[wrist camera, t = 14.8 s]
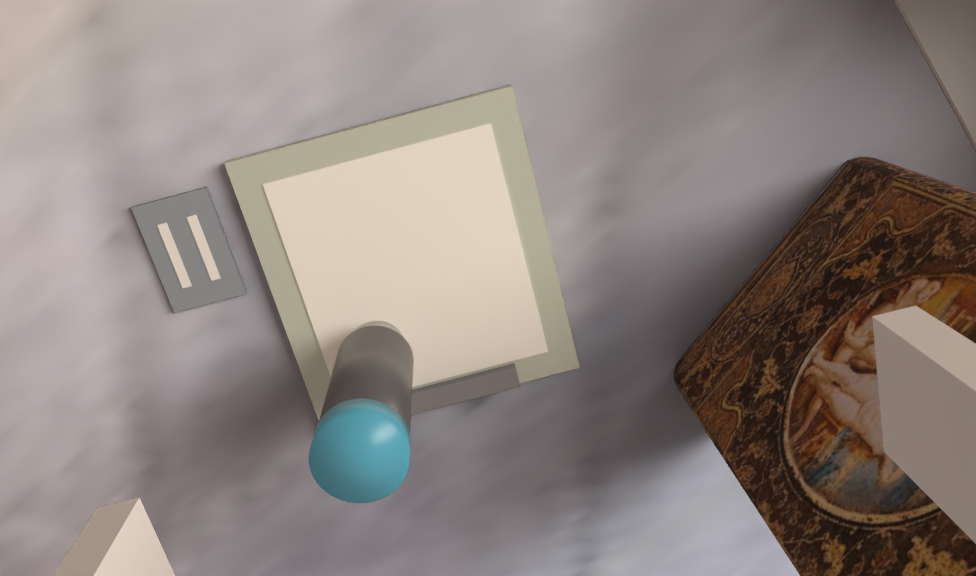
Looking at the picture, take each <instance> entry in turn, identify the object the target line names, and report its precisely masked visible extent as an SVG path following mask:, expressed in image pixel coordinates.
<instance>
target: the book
mask: <svg viewBox="0 0 976 576" xmlns="http://www.w3.org/2000/svg"><path fill="white" fill-rule="evenodd" d="M912 306H917V307H919V308H920V309H922V310H924V311H925V312H927V313H928V314H930V315H931V316H933V317H935V318H936V319H938V320H939V321H941V322H942V323H944V324H946V325H947V326H949V327H950V328H952V329H953V330H955V331H957V332H958V333H960V334H961V335H963V336H964V337H966V338H968V339H969V340H971V341H972V342H974V343H975V344H976V193H974V192H971V191H969V190H966V189H963V188H960V187H957V186H954V185H951V184H948V183H945V182H942V181H939V180H937V179H934V178H931V177H928V176H925V175H922V174H919V173H916V172H913V171H910V170H908V169H905V168H902V167H899V166H896V165H893V164H890V163H887V162H884V161H881V160H878V159H875V158H869V157H859V158H854V159H851V160H848V161H847V162H846V163H845V164H844V165H843V167H842V168H841V169H840V170H839V171H838V172H837V174H836V175H835V176H834V177H833V178H832V180H831V181H830V182H829V183H828V184H827V185H826V187H825V188H824V189H823V190H822V191H821V193H820V194H819V195H818V196H817V197H816V198H815V200H814V201H813V202H812V203H811V204H810V206H809V207H808V208H807V209H806V210H805V211H804V213H803V214H802V215H801V216H800V217H799V219H798V220H797V221H796V222H795V223H794V224H793V226H792V227H791V228H790V229H789V230H788V232H787V233H786V234H785V235H784V236H783V237H782V239H781V240H780V241H779V242H778V243H777V245H776V246H775V247H774V248H773V249H772V250H771V252H770V253H769V254H768V255H767V256H766V258H765V259H764V260H763V261H762V262H761V263H760V265H759V266H758V267H757V268H756V269H755V271H754V272H753V273H752V274H751V275H750V276H749V278H748V279H747V280H746V281H745V282H744V284H743V285H742V286H741V287H740V288H739V289H738V291H737V292H736V293H735V294H734V295H733V297H732V298H731V299H730V300H729V301H728V302H727V304H726V305H725V306H724V307H723V308H722V310H721V311H720V312H719V313H718V314H717V315H716V317H715V318H714V319H713V320H712V321H711V323H710V324H709V325H708V326H707V327H706V329H705V330H704V331H703V332H702V334H701V335H700V336H699V337H698V339H697V340H696V341H695V342H694V344H693V345H692V346H691V347H690V349H689V350H688V351H687V352H686V353H685V355H684V356H683V357H682V358H681V360H680V361H679V362H678V364H677V365H676V368H675V370H674V379H675V382H676V384H677V387H678V389H679V391H680V392H681V394H682V396H683V397H684V399H685V400H686V402H687V403H688V405H689V406H690V408H691V409H692V411H693V412H694V414H695V416H696V417H697V419H698V420H699V422H700V423H701V425H702V426H703V428H704V429H705V431H706V432H707V434H708V435H709V437H710V438H711V440H712V441H713V443H714V445H715V446H716V448H717V449H718V451H719V452H720V454H721V455H722V457H723V458H724V460H725V461H726V463H727V464H728V466H729V467H730V469H731V471H732V472H733V474H734V475H735V477H736V478H737V480H738V481H739V483H740V484H741V486H742V487H743V489H744V490H745V492H746V493H747V495H748V496H749V498H750V500H751V501H752V503H753V504H754V506H755V507H756V509H757V510H758V512H759V513H760V515H761V516H762V518H763V519H764V521H765V522H766V524H767V525H768V527H769V529H770V530H771V532H772V533H773V535H774V536H775V538H776V539H777V541H778V542H779V544H780V545H781V547H782V548H783V550H784V551H785V553H786V554H787V556H788V558H789V559H790V561H791V562H792V564H793V565H794V567H795V568H796V570H797V571H798V573H799V574H800V576H976V544H975V543H974V542H973V541H972V540H971V539H970V538H969V536H968V535H967V534H966V533H965V532H964V531H963V530H962V529H961V528H960V527H959V526H958V525H957V524H956V523H955V522H954V521H953V520H952V519H951V518H950V517H949V516H948V515H947V514H946V513H945V512H944V511H943V510H942V509H941V508H940V507H939V506H938V505H937V504H936V503H935V502H934V501H933V500H932V499H931V498H930V497H929V496H928V495H927V494H926V493H925V492H924V491H923V490H922V489H921V488H920V487H919V486H918V485H917V484H916V483H915V482H914V481H913V480H912V479H911V478H910V477H909V476H908V475H907V474H906V473H905V472H904V471H903V470H902V469H901V468H900V467H899V466H898V465H897V464H896V463H895V462H894V461H893V460H892V459H891V458H890V457H889V456H888V455H887V454H886V453H885V452H884V447H883V435H882V424H881V412H880V401H879V389H878V378H877V366H876V354H875V343H874V331H873V320H872V316H876V315H880V314H884V313H888V312H892V311H896V310H900V309H904V308H908V307H912Z"/></svg>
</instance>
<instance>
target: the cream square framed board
mask: <svg viewBox="0 0 976 576" xmlns="http://www.w3.org/2000/svg"><path fill="white" fill-rule="evenodd" d="M224 164H225V167H226V170H227V172H228V175H229V178H230V181H231V183H232V186H233V189H234V191H235V194H236V197H237V200H238V202H239V205H240V208H241V211H242V213H243V216H244V219H245V221H246V224H247V227H248V230H249V232H250V235H251V238H252V241H253V243H254V246H255V249H256V251H257V254H258V257H259V260H260V262H261V265H262V268H263V271H264V273H265V276H266V279H267V281H268V284H269V287H270V290H271V292H272V295H273V298H274V301H275V303H276V306H277V309H278V311H279V314H280V317H281V320H282V322H283V325H284V328H285V331H286V333H287V336H288V339H289V341H290V344H291V347H292V350H293V352H294V355H295V358H296V361H297V363H298V366H299V369H300V371H301V374H302V377H303V380H304V382H305V385H306V388H307V391H308V393H309V396H310V399H311V401H312V404H313V407H314V410H315V412H316V415H317V418H318V421H319V419H320V416H321V412H322V408H323V405H324V401H325V397H326V394H327V390H328V386H329V383H330V379H331V375H332V372H333V368H334V365H335V361H336V357H337V354H338V350H339V347H340V345H341V343H342V342H343V341H344V339H345V338H346V337H347V336H348V335H349V334H350V333H352V332H353V331H355V330H357V328H359V327H360V326H361V325H363V324H365V323H367V322H370V321H384V322H388V323H390V324H392V325H394V326H395V327H396V328H397V329H398V330H399V331H400V332H401V333H402V335H403V337H404V338H405V339H406V341H407V342H408V343H409V345H410V347H411V350H412V353H413V358H414V364H413V383H412V402H411V415H413V414H417V413H421V412H424V411H428V410H432V409H436V408H440V407H444V406H447V405H451V404H455V403H459V402H463V401H467V400H470V399H474V398H478V397H482V396H486V395H490V394H493V393H497V392H501V391H505V390H509V389H513V388H517V387H520V383H523V382H527V381H531V380H535V379H539V378H542V377H546V376H550V375H554V374H558V373H562V372H565V371H569V370H573V369H577V368H580V366H579V362H578V358H577V354H576V349H575V345H574V341H573V337H572V333H571V329H570V324H569V320H568V316H567V312H566V308H565V304H564V299H563V295H562V291H561V287H560V283H559V279H558V274H557V270H556V266H555V262H554V258H553V254H552V249H551V245H550V241H549V237H548V233H547V229H546V224H545V220H544V216H543V212H542V208H541V204H540V199H539V195H538V191H537V187H536V183H535V179H534V174H533V170H532V166H531V162H530V158H529V154H528V149H527V145H526V141H525V137H524V133H523V129H522V124H521V120H520V116H519V112H518V108H517V104H516V99H515V95H514V91H513V87H512V85H507V86H504V87H500V88H496V89H493V90H489V91H485V92H481V93H478V94H474V95H470V96H467V97H463V98H459V99H455V100H452V101H448V102H444V103H441V104H437V105H433V106H429V107H426V108H422V109H418V110H414V111H411V112H407V113H403V114H400V115H396V116H392V117H388V118H385V119H381V120H377V121H374V122H370V123H366V124H362V125H359V126H355V127H351V128H348V129H344V130H340V131H336V132H333V133H329V134H325V135H321V136H318V137H314V138H310V139H307V140H303V141H299V142H295V143H292V144H288V145H284V146H281V147H277V148H273V149H269V150H266V151H262V152H258V153H255V154H251V155H247V156H243V157H240V158H236V159H232V160H228V161H227V162H225V163H224Z"/></svg>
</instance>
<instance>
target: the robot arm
mask: <svg viewBox="0 0 976 576" xmlns="http://www.w3.org/2000/svg"><path fill="white" fill-rule="evenodd" d="M872 320H873V331H874V343H875V354H876V366H877V378H878V389H879V401H880V412H881V424H882V435H883V447H884V452H885V453H886V454H887V455H888V456H889V457H890V458H891V459H892V460H893V461H894V462H895V463H896V464H897V465H898V466H899V467H900V468H901V469H902V470H903V471H904V472H905V473H906V474H907V475H908V476H909V477H910V478H911V479H912V480H913V481H914V482H915V483H916V484H917V485H918V486H919V487H920V488H921V489H922V490H923V491H924V492H925V493H926V494H927V495H928V496H929V497H930V498H931V499H932V500H933V501H934V502H935V503H936V504H937V505H938V506H939V507H940V508H941V509H942V510H943V511H944V512H945V513H946V514H947V515H948V516H949V517H950V518H951V519H952V520H953V521H954V522H955V523H956V524H957V525H958V526H959V527H960V528H961V529H962V530H963V531H964V532H965V533H966V534H967V535H968V536H969V538H970V539H971V540H972V541H973V542H974V543H975V544H976V344H975V343H974V342H972V341H971V340H969V339H968V338H966V337H964V336H963V335H961V334H960V333H958V332H957V331H955V330H953V329H952V328H950V327H949V326H947V325H946V324H944V323H942V322H941V321H939V320H938V319H936V318H935V317H933V316H931V315H930V314H928V313H927V312H925V311H924V310H922V309H920V308H919V307H917V306H912V307H908V308H904V309H900V310H896V311H892V312H888V313H884V314H880V315H876V316H872ZM53 576H175V575H174V572H173V570H172V568H171V566H170V564H169V562H168V559H167V557H166V555H165V553H164V551H163V548H162V546H161V544H160V542H159V540H158V537H157V535H156V533H155V531H154V529H153V526H152V524H151V522H150V520H149V518H148V516H147V513H146V511H145V509H144V507H143V505H142V502H141V500H140V498H135V499H131V500H127V501H123V502H119V503H115V504H111V505H107V506H103V507H99V508H97V509H96V511H95V512H94V514H93V515H92V517H91V518H90V520H89V521H88V523H87V524H86V526H85V527H84V529H83V530H82V532H81V534H80V535H79V537H78V538H77V540H76V541H75V543H74V544H73V546H72V547H71V549H70V550H69V552H68V553H67V555H66V556H65V558H64V559H63V561H62V563H61V564H60V566H59V567H58V569H57V570H56V572H55V573H54V575H53Z"/></svg>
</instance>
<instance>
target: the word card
mask: <svg viewBox="0 0 976 576" xmlns="http://www.w3.org/2000/svg"><path fill="white" fill-rule="evenodd" d="M131 209H132V212H133V214H134V217H135V219H136V222H137V224H138V226H139V229H140V231H141V234H142V236H143V238H144V241H145V243H146V246H147V248H148V251H149V253H150V255H151V258H152V260H153V263H154V265H155V268H156V270H157V272H158V275H159V277H160V280H161V282H162V285H163V287H164V289H165V292H166V294H167V297H168V299H169V301H170V304H171V306H172V309H173V311H174V313H176V312H180V311H184V310H187V309H191V308H195V307H199V306H203V305H206V304H210V303H214V302H218V301H221V300H225V299H229V298H233V297H236V296H240V295H244V294H246V293H247V292H246V289H245V286H244V284H243V281H242V278H241V276H240V273H239V270H238V268H237V265H236V262H235V260H234V257H233V255H232V252H231V249H230V247H229V244H228V241H227V239H226V236H225V233H224V231H223V228H222V225H221V223H220V220H219V217H218V215H217V212H216V209H215V207H214V204H213V202H212V199H211V196H210V194H209V191H208V188H207V187H204V188H200V189H197V190H193V191H189V192H185V193H182V194H178V195H174V196H170V197H167V198H163V199H159V200H156V201H152V202H148V203H144V204H141V205H137V206H133V207H131Z"/></svg>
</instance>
